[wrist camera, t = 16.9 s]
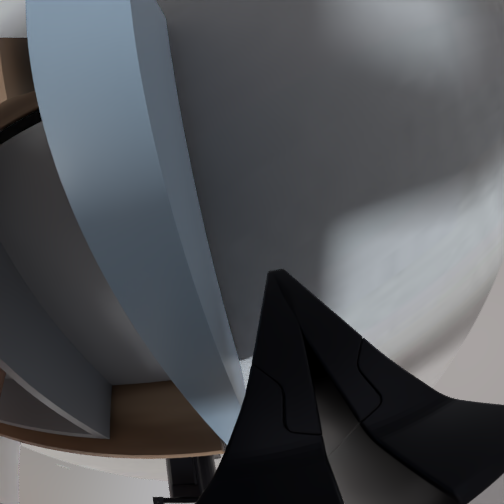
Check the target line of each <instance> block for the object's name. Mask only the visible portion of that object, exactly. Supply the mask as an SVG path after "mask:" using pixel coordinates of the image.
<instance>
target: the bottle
mask: <svg viewBox="0 0 504 504" xmlns="http://www.w3.org/2000/svg"><path fill="white" fill-rule="evenodd" d="M20 445H21V442H19V441H15V440H12V439H8V438H5V437H2V436H0V503H1V504H19V458H20Z"/></svg>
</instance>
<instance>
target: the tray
mask: <svg viewBox="0 0 504 504" xmlns="http://www.w3.org/2000/svg"><path fill="white" fill-rule="evenodd" d="M26 25H27V38H28V48H29V56H30V64H31V70H32V76H33V82H34V87H35V92H36V97H37V102H38V106H39V110H40V114H41V118H42V121H41V122H39V123H37V124H36V125H34V126H32V127H30V128H28V129H26V130H24V131H22V132H21V133H19V134H17V135H15V136H14V137H12V138H10V139H9V140H7V141H5V142H4V143H2V144H0V368H1V369H2V370H3V371H5V372H6V376H5V380H4V384H3V388H2V392H1V397H0V422H1V423H4V424H8V425H12V426H16V427H21V428H25V429H30V430H35V431H41V432H46V433H53V434H59V435H67V436H76V437H86V438H100V439H110V410H111V394H112V385H125V384H139V383H150V382H160V381H169V380H172V382H173V383H174V384H175V385H176V387H177V388H178V389H179V391H180V392H181V393H182V394H183V396H184V397H185V398H186V399H187V400H188V402H189V403H190V404H191V405H192V407H193V408H194V409H195V410H196V411H197V412H198V414H199V415H200V416H201V417H202V418H203V419H204V421H205V422H206V423H207V424H208V425H209V426H210V427H211V428H212V429H213V431H214V432H215V433H216V434H217V435H218V436H219V437H220V438H221V439H222V440H223V441H224V442H225V443H226V444H227V445H228V442H229V440H230V437H231V434H232V432H233V429H234V426H235V424H236V421H237V418H238V415H239V412H240V409H241V406H242V403H243V400H244V397H245V393H246V389H245V384H244V379H243V374H242V369H241V365H240V362H239V359H238V355H237V352H236V348H235V344H234V341H233V337H232V334H231V330H230V326H229V323H228V319H227V315H226V312H225V308H224V304H223V300H222V296H221V293H220V289H219V285H218V281H217V277H216V273H215V269H214V265H213V261H212V257H211V253H210V248H209V244H208V240H207V236H206V232H205V227H204V223H203V219H202V214H201V210H200V205H199V201H198V196H197V192H196V187H195V182H194V178H193V173H192V168H191V163H190V158H189V153H188V148H187V143H186V138H185V133H184V128H183V122H182V117H181V111H180V106H179V100H178V94H177V88H176V83H175V76H174V70H173V64H172V58H171V51H170V44H169V37H168V30H167V23H166V18H165V16H164V14H163V12H162V10H161V9H160V7H159V5H158V3H157V1H156V0H26Z"/></svg>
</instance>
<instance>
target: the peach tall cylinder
mask: <svg viewBox="0 0 504 504" xmlns="http://www.w3.org/2000/svg"><path fill="white" fill-rule="evenodd" d="M5 376H6V372H5V371H3V370H2V369H1V368H0V397H1V392H2V388H3V384H4V380H5Z"/></svg>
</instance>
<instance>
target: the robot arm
mask: <svg viewBox="0 0 504 504" xmlns="http://www.w3.org/2000/svg"><path fill="white" fill-rule="evenodd" d="M217 458H221V456H220V454H216V455H207V456H196V457H183V458H166V466H167V475H168V483H169V491H170V498H163V497H153V502H154V504H165V503H195V504H344V503H345V504H504V405H499V404H489V403H480V402H472V401H465V400H458V399H454V398H450V397H448V396H445V395H443V394H441V393H439V392H437V391H436V390H434V389H433V388H431V387H430V386H428V385H427V384H425V383H424V382H422V381H421V380H419V379H418V378H416V377H415V376H413V375H412V374H410V373H409V372H407V371H406V370H404V369H403V368H401V367H400V366H399V365H397V364H396V363H395V362H393V361H392V360H390V359H389V358H388V357H386V356H385V355H384V354H383V353H381V352H380V351H379V350H378V349H376V348H375V347H374V346H373V345H372V344H370V343H369V342H368V341H367V340H366V339H365V338H363V339H362V336H361V335H360V334H359V333H358V332H356V331H355V330H354V329H353V328H352V327H351V326H350V325H348V324H347V323H346V322H345V321H344V320H343V319H341V318H340V317H339V316H338V315H337V314H336V313H334V312H333V311H332V310H331V309H330V308H329V307H327V306H326V305H325V304H324V303H323V302H322V301H320V300H319V299H318V298H317V297H316V296H315V295H313V294H312V293H311V292H310V291H309V290H308V289H306V288H305V287H304V286H303V285H302V284H301V283H299V282H298V281H297V280H296V279H295V278H293V277H292V276H291V275H290V274H289V273H288V272H286V271H285V270H284V269H278V270H273V271H269V272H268V273H267V279H266V285H265V291H264V297H263V303H262V309H261V314H260V320H259V326H258V331H257V337H256V343H255V348H254V354H253V359H252V366H251V369H250V375H249V380H248V384H247V388H246V393H245V397H244V400H243V403H242V406H241V409H240V412H239V415H238V418H237V421H236V424H235V426H234V429H233V432H232V434H231V437H230V440H229V442H228V445H227V447H226V450H225V453H224V455H223V457H222V460H221V462H220V464H219V466H218V468H217V470H216V468H215V462H214V459H217ZM341 495H342V496H341ZM0 504H1V503H0Z"/></svg>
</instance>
